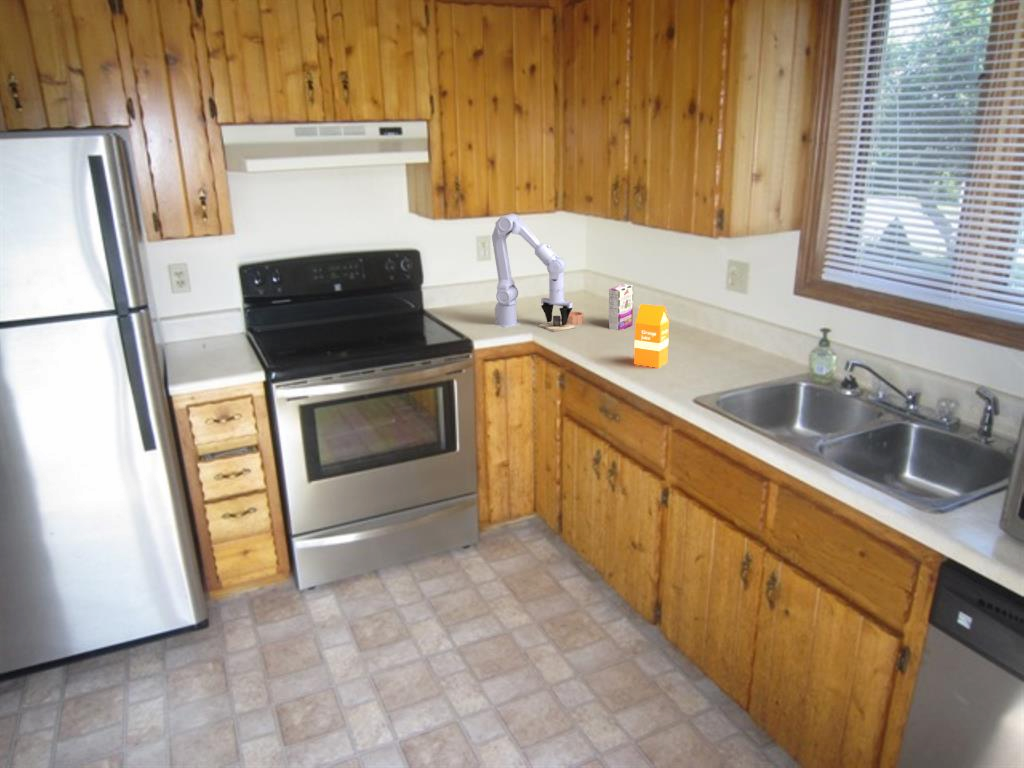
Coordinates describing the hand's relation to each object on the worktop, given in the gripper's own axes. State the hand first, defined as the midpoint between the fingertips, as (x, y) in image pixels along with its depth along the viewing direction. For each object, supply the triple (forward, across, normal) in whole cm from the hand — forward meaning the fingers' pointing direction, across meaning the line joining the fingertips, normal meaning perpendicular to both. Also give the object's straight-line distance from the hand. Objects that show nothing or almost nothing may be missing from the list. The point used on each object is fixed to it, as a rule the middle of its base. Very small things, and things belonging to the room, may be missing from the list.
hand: (556, 323), depth 294 cm
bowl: (+2, 0, -11) cm, 11 cm away
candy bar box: (+2, -19, -16) cm, 25 cm away
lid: (+2, 0, 0) cm, 2 cm away
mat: (+2, 0, 0) cm, 2 cm away
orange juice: (+2, -54, +17) cm, 57 cm away
